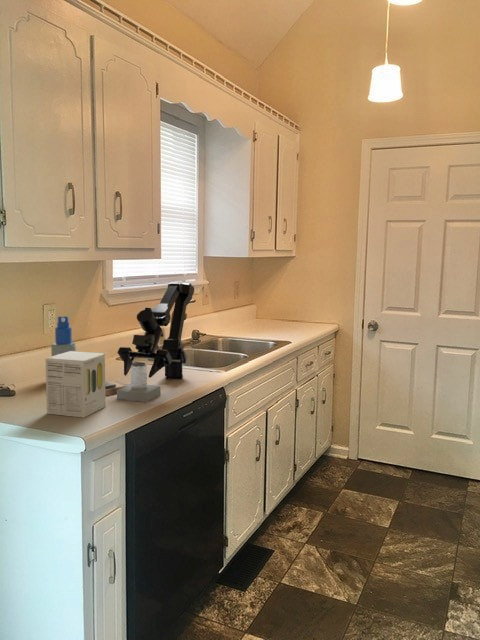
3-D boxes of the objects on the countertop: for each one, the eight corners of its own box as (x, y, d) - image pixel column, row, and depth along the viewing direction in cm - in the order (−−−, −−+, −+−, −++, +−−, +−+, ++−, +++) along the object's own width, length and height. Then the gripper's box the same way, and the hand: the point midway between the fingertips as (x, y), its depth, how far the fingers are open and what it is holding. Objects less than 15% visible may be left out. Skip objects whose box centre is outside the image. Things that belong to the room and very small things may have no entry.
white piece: (136, 386, 187) (136, 361, 186) (146, 387, 186) (146, 362, 185) (131, 389, 183) (130, 363, 182) (141, 390, 182) (141, 364, 181)
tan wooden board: (116, 386, 199) (116, 378, 198) (130, 390, 193) (130, 382, 193) (88, 392, 190) (88, 384, 189) (101, 396, 184) (101, 388, 184)
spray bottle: (76, 382, 204) (75, 317, 201) (51, 383, 201) (49, 317, 198) (76, 377, 212) (75, 314, 209) (52, 378, 210) (51, 315, 207)
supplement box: (84, 418, 160) (82, 360, 158) (45, 414, 164) (44, 357, 162) (106, 406, 173) (105, 353, 171) (70, 402, 176) (69, 350, 174)
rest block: (132, 391, 192) (132, 383, 191) (160, 394, 189) (160, 385, 188) (116, 399, 181) (116, 390, 181) (146, 402, 178) (146, 393, 178)
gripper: (119, 324, 188) (103, 360, 179) (168, 327, 183) (154, 364, 174) (130, 342, 197) (115, 378, 188) (177, 346, 192) (164, 383, 183)
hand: (137, 376), depth 183 cm, fingers open, 9 cm apart
